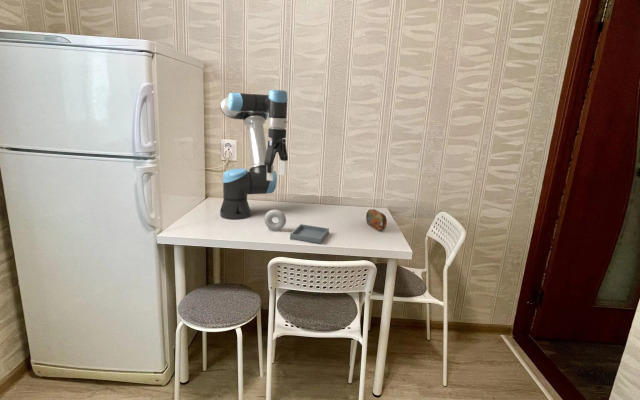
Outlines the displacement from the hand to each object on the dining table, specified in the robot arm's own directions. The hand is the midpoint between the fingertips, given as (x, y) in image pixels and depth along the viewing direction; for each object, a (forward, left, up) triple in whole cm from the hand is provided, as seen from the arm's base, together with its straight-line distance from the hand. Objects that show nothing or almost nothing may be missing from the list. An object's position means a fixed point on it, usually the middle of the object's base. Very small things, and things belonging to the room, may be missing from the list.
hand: (276, 177), depth 149 cm
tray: (+17, -1, -25) cm, 30 cm away
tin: (+43, +24, -25) cm, 55 cm away
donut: (0, 0, -25) cm, 25 cm away
